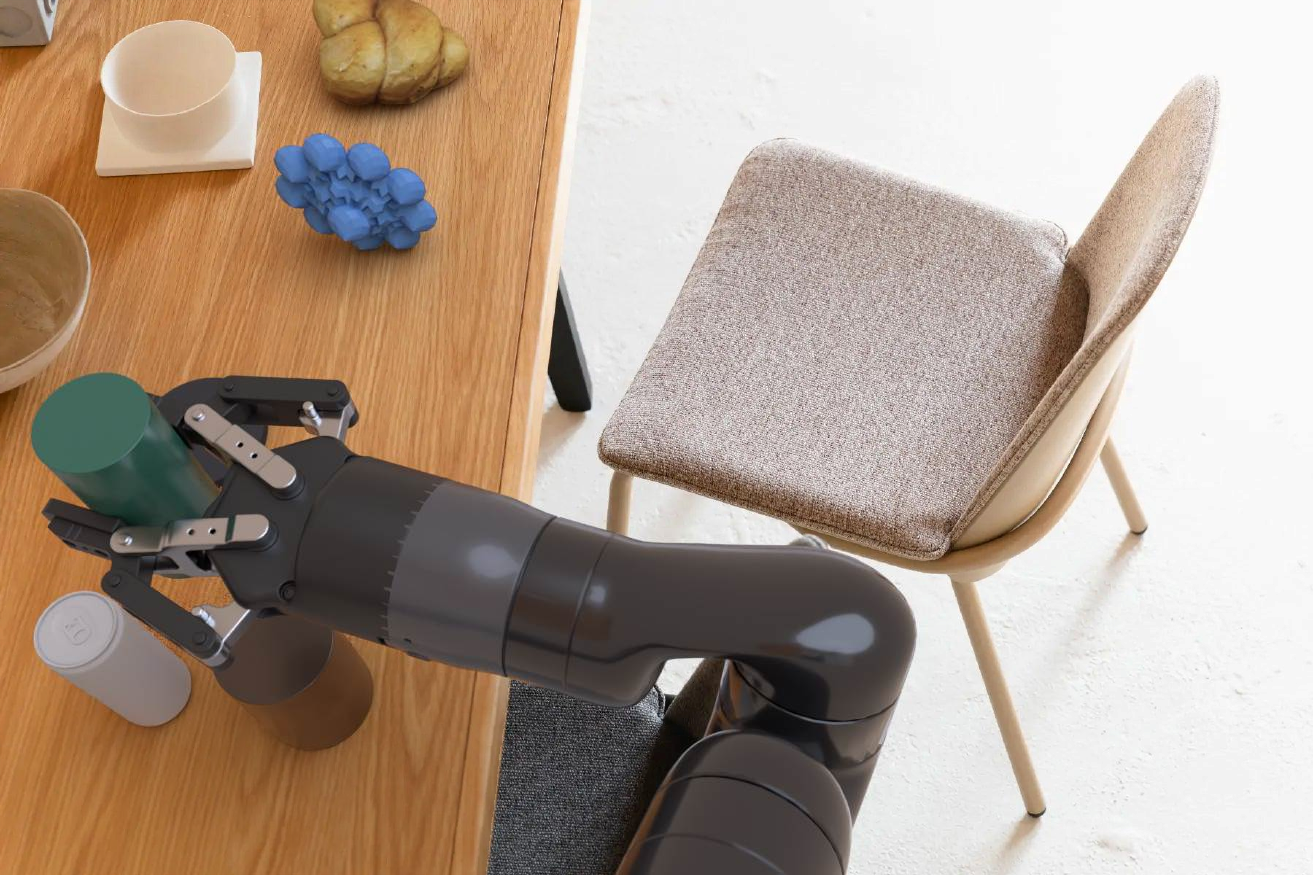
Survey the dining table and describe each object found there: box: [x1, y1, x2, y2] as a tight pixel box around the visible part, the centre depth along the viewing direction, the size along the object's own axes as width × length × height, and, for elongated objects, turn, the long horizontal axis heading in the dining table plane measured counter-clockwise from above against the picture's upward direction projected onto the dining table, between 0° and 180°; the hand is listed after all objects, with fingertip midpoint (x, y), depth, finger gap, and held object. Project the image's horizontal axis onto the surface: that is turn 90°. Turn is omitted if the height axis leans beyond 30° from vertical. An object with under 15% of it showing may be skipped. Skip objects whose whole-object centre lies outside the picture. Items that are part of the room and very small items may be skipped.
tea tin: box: [30, 371, 221, 580], centre depth 53 cm, size 5×5×11 cm
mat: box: [161, 377, 269, 488], centre depth 84 cm, size 9×9×1 cm
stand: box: [212, 616, 374, 752], centre depth 71 cm, size 7×7×10 cm
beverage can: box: [32, 590, 192, 727], centre depth 70 cm, size 5×5×12 cm
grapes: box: [273, 132, 438, 251], centre depth 88 cm, size 12×7×12 cm, turn 86°
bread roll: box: [311, 0, 470, 106], centre depth 99 cm, size 13×10×8 cm
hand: (87, 462), depth 53 cm, fingers closed on tea tin, 5 cm apart
